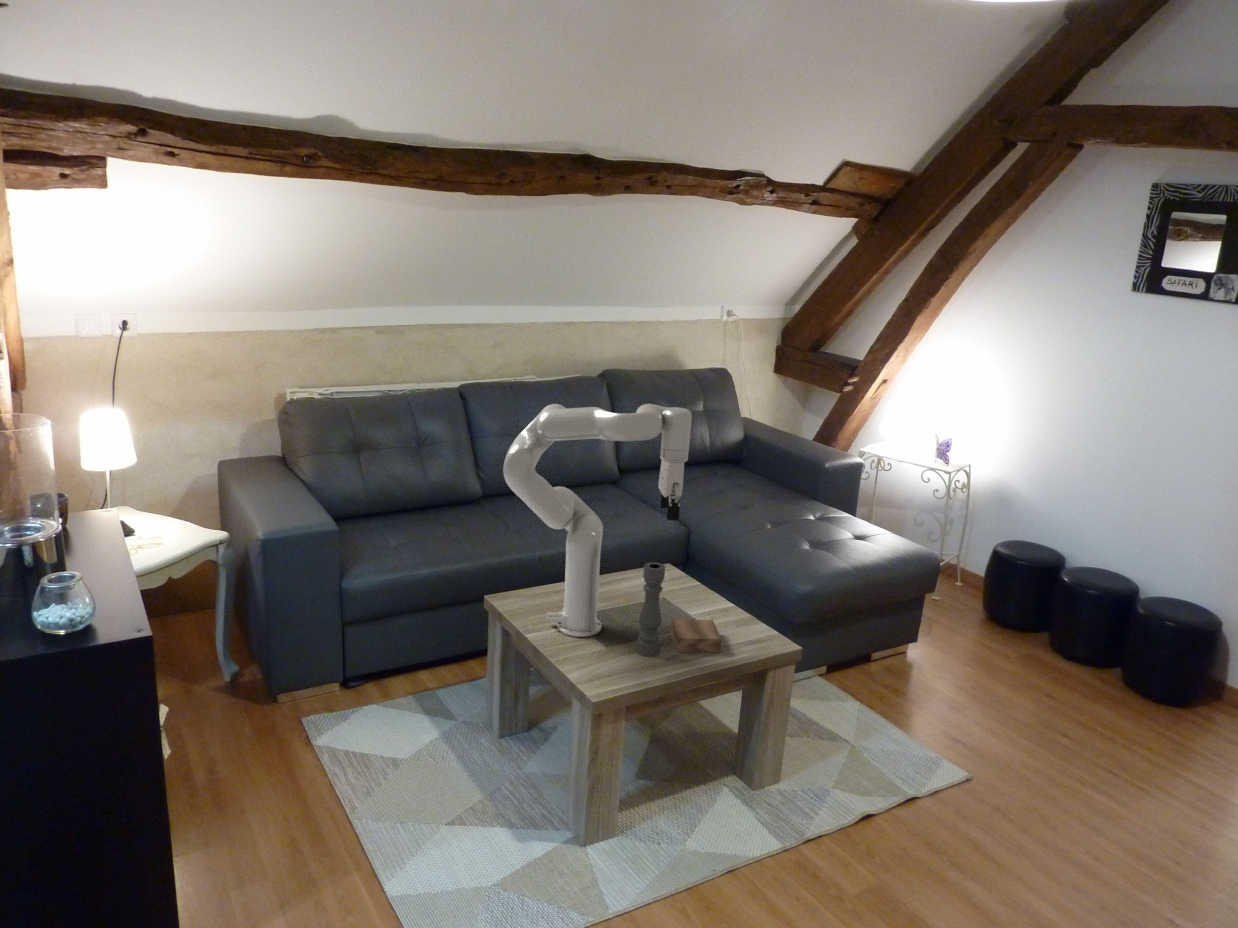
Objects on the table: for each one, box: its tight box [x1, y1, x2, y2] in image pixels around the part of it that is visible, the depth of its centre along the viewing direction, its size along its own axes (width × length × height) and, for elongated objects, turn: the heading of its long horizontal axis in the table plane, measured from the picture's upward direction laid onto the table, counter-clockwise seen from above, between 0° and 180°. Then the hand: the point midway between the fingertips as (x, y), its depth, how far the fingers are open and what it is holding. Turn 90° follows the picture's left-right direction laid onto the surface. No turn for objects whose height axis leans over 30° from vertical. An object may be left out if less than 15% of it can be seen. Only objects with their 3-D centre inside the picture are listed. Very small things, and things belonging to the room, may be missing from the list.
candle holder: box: [636, 561, 666, 658], centre depth 257 cm, size 6×6×25 cm
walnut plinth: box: [670, 618, 722, 653], centre depth 267 cm, size 12×12×4 cm
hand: (669, 513), depth 262 cm, fingers open, 9 cm apart
